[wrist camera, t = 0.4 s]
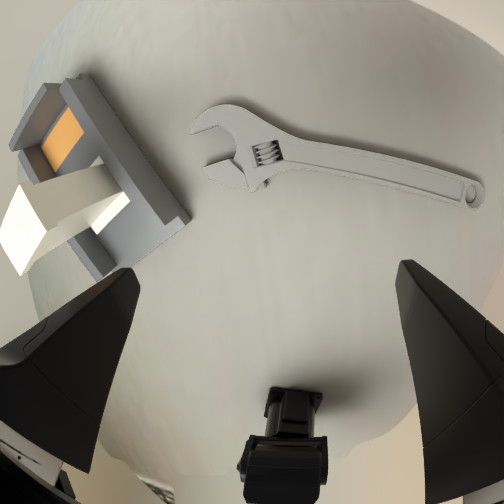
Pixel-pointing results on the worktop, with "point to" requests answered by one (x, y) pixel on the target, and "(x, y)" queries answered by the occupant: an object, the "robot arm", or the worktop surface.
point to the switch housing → (83, 155)
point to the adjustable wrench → (319, 160)
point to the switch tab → (59, 212)
